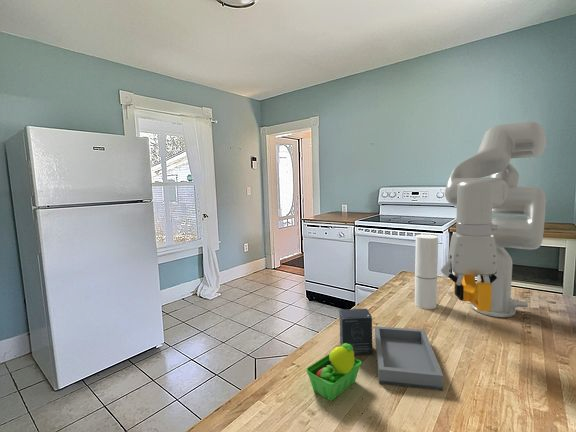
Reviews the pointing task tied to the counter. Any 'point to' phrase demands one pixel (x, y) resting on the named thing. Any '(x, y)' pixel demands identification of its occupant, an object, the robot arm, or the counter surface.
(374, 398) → the counter surface
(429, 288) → the cylindrical container
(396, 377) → the tray
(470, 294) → the orange toy block
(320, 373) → the fruit basket
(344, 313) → the box
